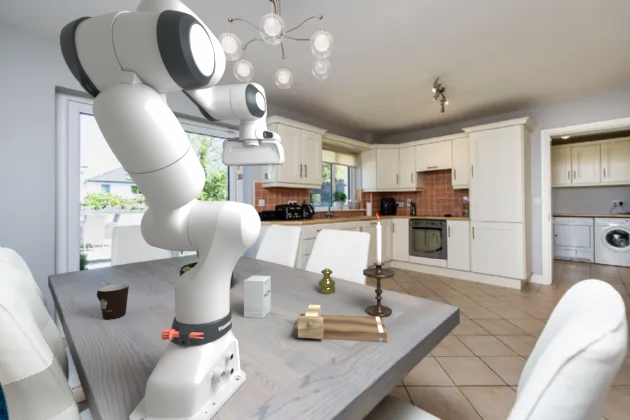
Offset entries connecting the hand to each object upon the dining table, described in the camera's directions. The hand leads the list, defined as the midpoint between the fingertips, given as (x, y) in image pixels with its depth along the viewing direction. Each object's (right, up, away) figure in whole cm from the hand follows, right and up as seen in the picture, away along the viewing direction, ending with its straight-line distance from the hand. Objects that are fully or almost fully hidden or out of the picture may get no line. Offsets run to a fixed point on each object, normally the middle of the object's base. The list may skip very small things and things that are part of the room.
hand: (253, 179), depth 90 cm
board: (+28, -46, -7) cm, 54 cm away
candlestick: (+42, -46, +7) cm, 63 cm away
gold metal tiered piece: (+25, -46, +31) cm, 61 cm away
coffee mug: (-50, -47, +6) cm, 69 cm away
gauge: (+19, -45, -9) cm, 50 cm away
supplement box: (0, -47, +7) cm, 47 cm away
